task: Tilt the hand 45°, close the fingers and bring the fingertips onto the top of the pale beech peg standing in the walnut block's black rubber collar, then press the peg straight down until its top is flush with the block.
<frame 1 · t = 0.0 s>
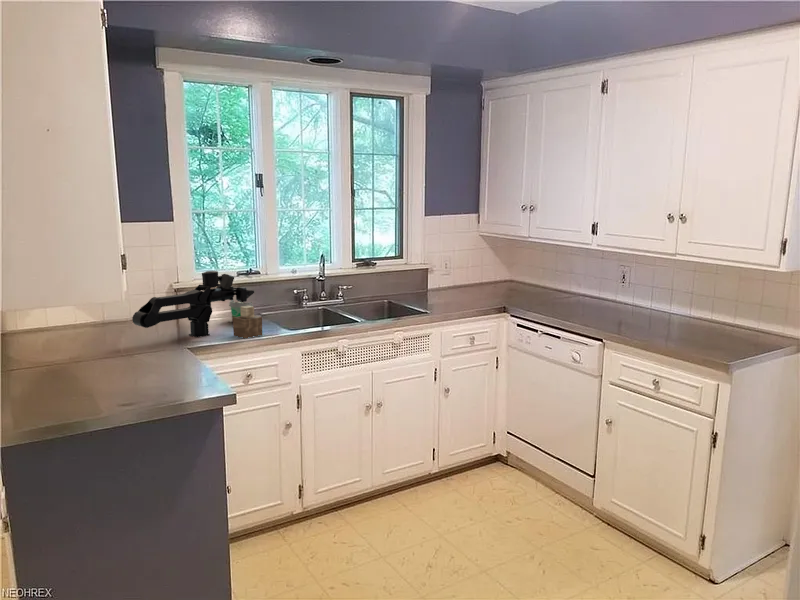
hand: (247, 290, 278), 17 cm above the worktop, tool horizontal, fingers open, 9 cm apart
walnut block: (248, 335, 263), on the worktop
food container: (238, 323, 289), on the worktop
peg: (247, 315, 261), point 9 cm above the worktop, slide at 0.0 cm
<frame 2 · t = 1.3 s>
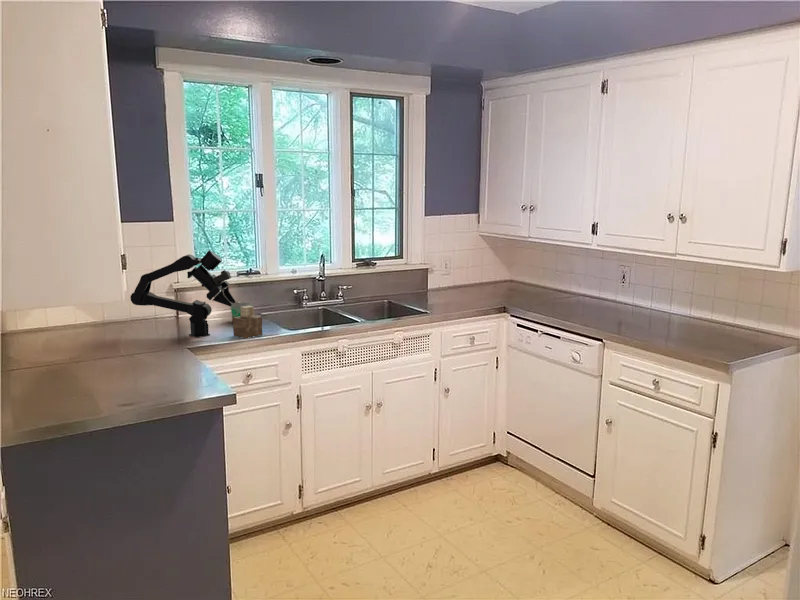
hand: (233, 304, 260), 14 cm above the worktop, tool tilted 45°, fingers open, 7 cm apart
nothing on the worktop moved.
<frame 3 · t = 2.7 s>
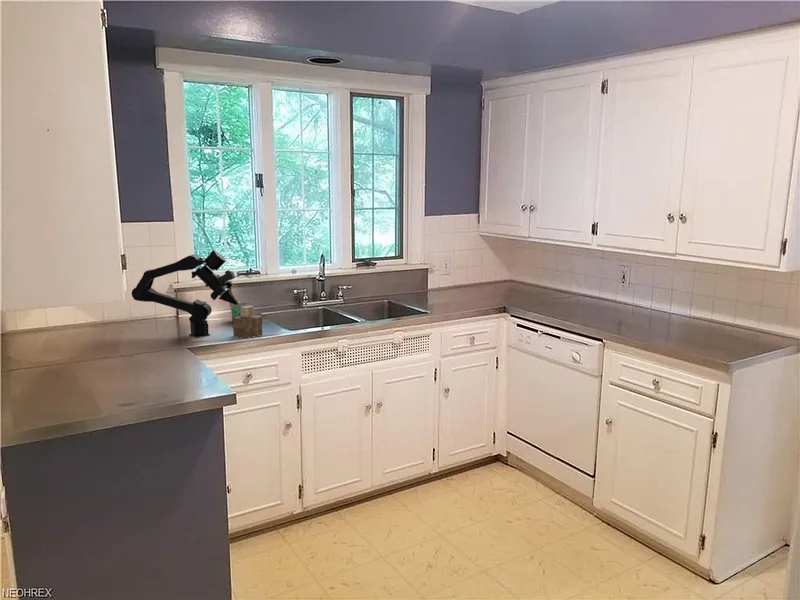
hand: (237, 303, 260), 14 cm above the worktop, tool tilted 45°, fingers closed
nothing on the worktop moved.
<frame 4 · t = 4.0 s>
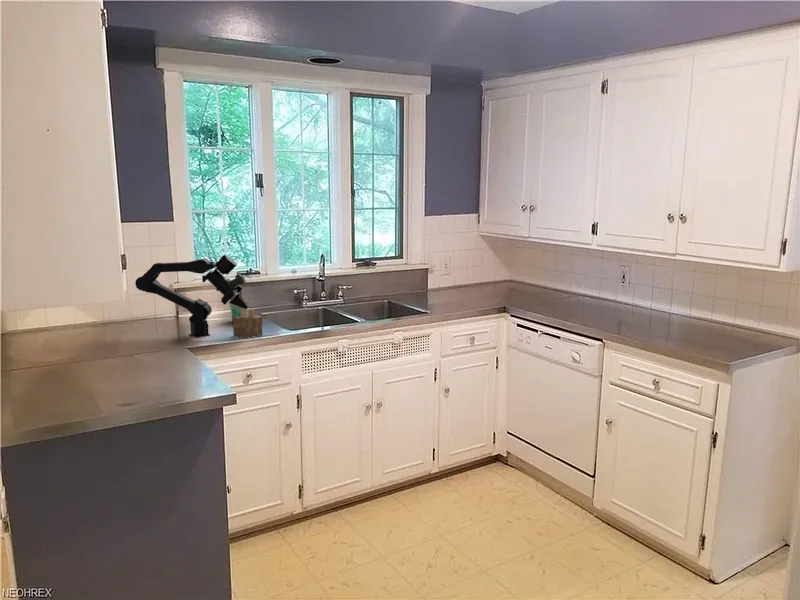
hand: (247, 308, 261), 12 cm above the worktop, tool tilted 45°, fingers closed, pressing on peg
peg: (247, 317, 262), point 8 cm above the worktop, slide at 0.9 cm, touching gripper
everything else where it was.
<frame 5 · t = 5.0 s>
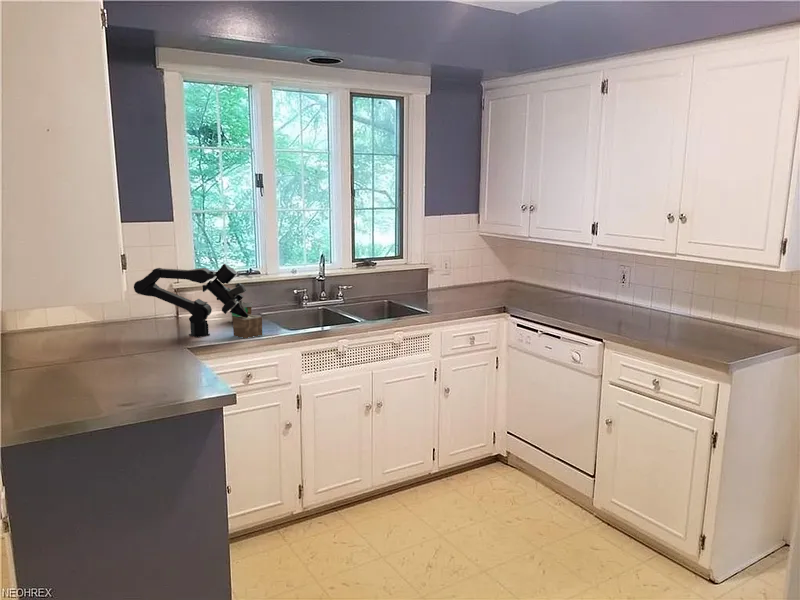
hand: (247, 316, 262), 8 cm above the worktop, tool tilted 45°, fingers closed, pressing on peg
peg: (247, 326, 262), point 4 cm above the worktop, slide at 4.7 cm, touching gripper
everything else where it was.
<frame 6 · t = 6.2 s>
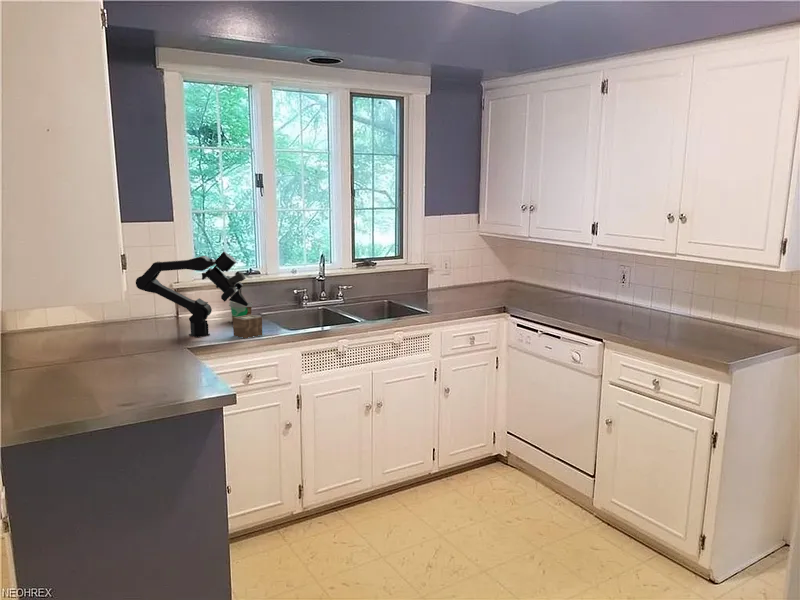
hand: (247, 305, 261), 13 cm above the worktop, tool tilted 45°, fingers closed
peg: (247, 326, 262), point 4 cm above the worktop, slide at 4.6 cm
everything else where it was.
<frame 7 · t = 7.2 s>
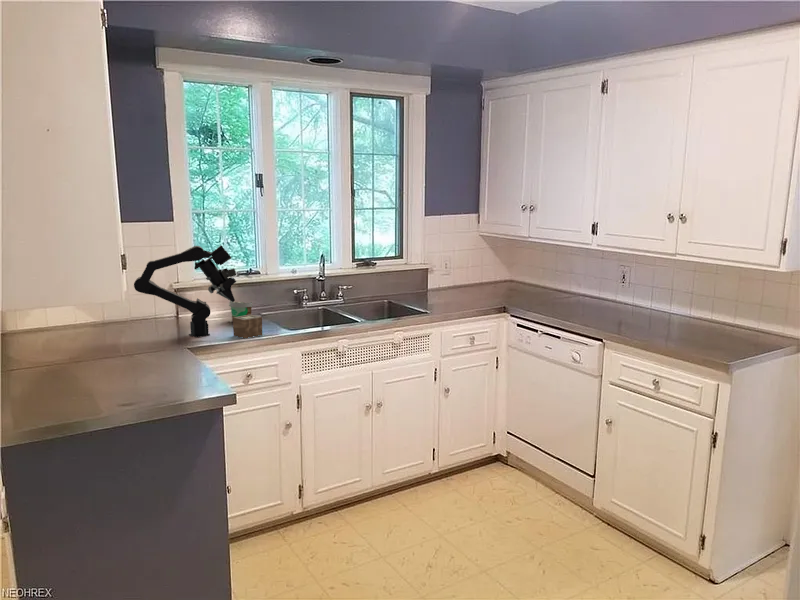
hand: (233, 301, 264), 14 cm above the worktop, tool tilted 35°, fingers closed
nothing on the worktop moved.
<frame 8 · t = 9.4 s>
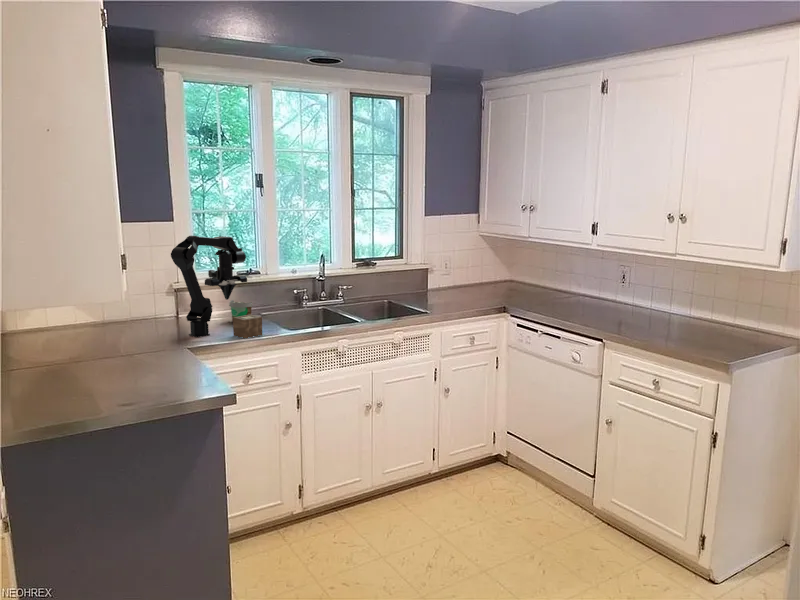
hand: (227, 299, 275), 13 cm above the worktop, tool pointing down, fingers closed
nothing on the worktop moved.
at the end: peg slide at 4.6 cm; food container moved 0.2 cm from its start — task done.
